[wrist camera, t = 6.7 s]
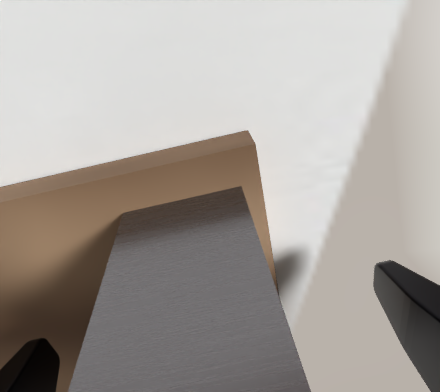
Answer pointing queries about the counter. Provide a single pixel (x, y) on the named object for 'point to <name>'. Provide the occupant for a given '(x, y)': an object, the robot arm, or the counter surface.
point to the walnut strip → (87, 231)
